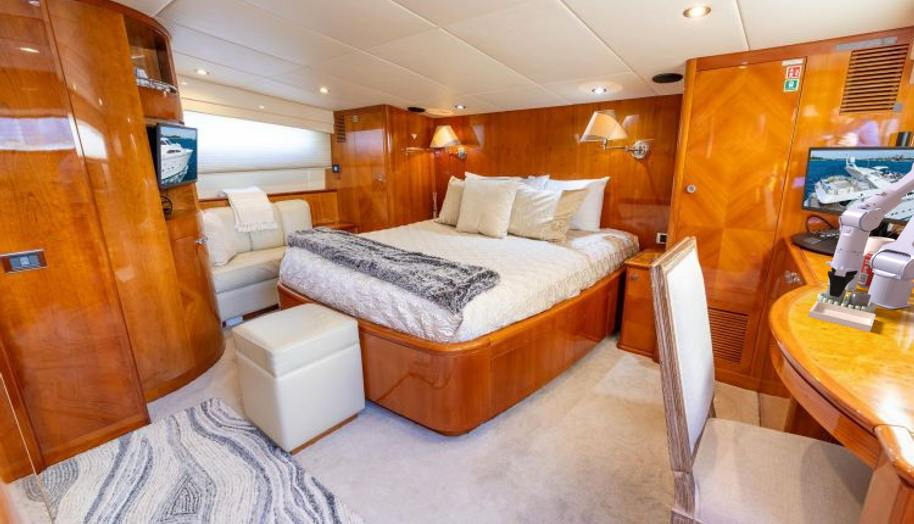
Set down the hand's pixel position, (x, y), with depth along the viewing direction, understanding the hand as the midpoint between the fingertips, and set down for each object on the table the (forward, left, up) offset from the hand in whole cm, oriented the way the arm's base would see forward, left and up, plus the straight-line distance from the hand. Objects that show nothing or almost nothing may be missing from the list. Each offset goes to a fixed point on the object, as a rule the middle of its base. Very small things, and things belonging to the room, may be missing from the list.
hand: (835, 294), depth 115 cm
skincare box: (-20, -10, -4) cm, 23 cm away
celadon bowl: (-1, +2, -3) cm, 4 cm away
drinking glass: (-42, -14, -4) cm, 44 cm away
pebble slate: (0, 0, -3) cm, 3 cm away
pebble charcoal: (-2, +4, -3) cm, 6 cm away
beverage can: (-30, -8, -4) cm, 31 cm away
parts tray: (+11, +8, -3) cm, 14 cm away
